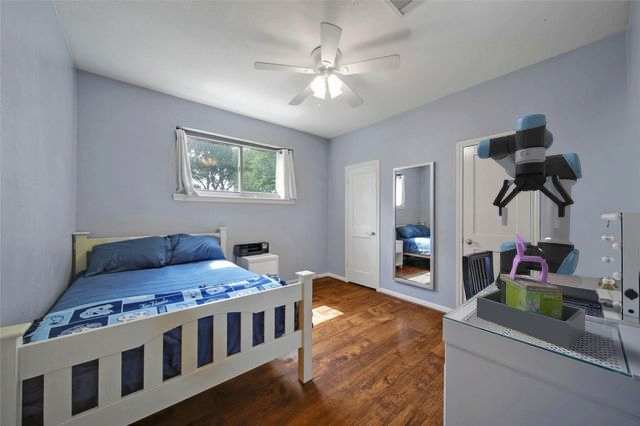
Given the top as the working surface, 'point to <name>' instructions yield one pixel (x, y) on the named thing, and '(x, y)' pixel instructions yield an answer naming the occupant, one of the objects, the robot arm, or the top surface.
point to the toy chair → (527, 259)
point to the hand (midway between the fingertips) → (528, 226)
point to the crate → (533, 320)
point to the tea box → (531, 295)
